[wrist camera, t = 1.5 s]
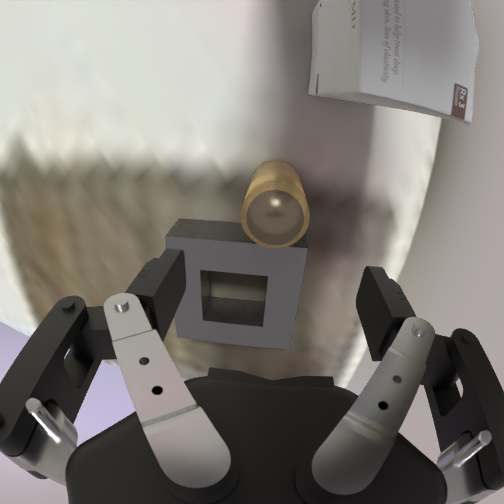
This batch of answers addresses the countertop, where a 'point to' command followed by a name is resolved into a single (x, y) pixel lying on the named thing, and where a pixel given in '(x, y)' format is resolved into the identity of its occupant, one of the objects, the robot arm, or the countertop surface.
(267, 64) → the countertop surface
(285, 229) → the piston
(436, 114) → the skincare box
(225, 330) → the collar
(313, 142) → the countertop surface
